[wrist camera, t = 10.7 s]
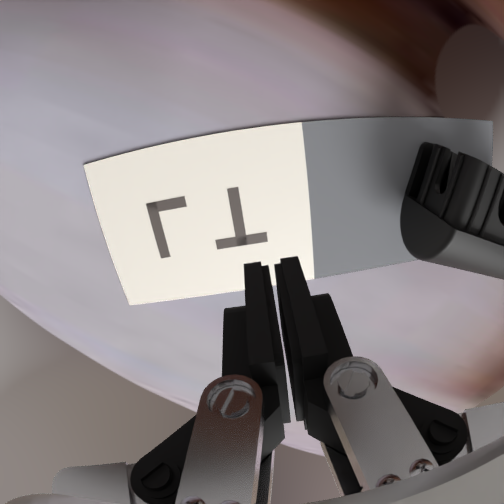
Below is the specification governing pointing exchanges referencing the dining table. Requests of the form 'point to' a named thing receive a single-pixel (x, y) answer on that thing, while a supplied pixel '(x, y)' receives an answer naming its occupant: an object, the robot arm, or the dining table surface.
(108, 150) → the dining table surface
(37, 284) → the dining table surface
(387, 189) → the mat
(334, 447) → the robot arm
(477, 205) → the end cap
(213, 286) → the board
